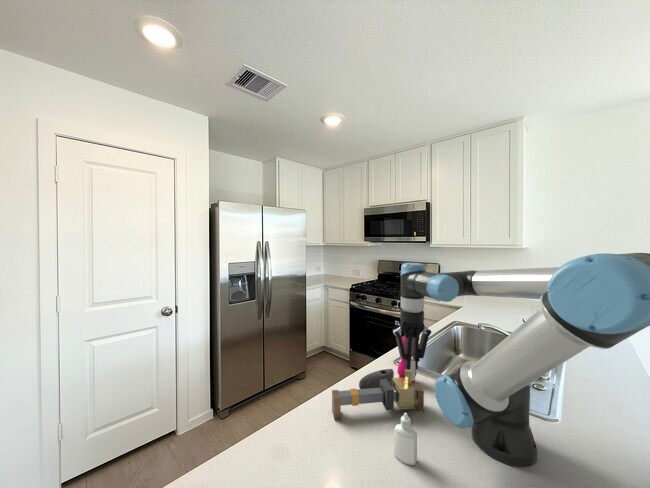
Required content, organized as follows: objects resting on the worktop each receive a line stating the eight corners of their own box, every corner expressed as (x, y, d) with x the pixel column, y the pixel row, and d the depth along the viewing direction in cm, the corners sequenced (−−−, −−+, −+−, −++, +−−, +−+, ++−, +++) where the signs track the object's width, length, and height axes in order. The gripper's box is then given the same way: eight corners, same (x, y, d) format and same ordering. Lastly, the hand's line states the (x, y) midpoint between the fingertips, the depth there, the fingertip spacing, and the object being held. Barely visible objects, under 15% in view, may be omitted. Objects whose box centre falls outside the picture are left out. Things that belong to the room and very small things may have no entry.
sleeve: (405, 396, 92) (405, 366, 92) (414, 408, 86) (414, 376, 86) (391, 397, 92) (391, 367, 92) (399, 409, 85) (399, 377, 85)
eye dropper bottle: (407, 470, 66) (407, 423, 65) (391, 454, 71) (391, 409, 70) (419, 463, 68) (420, 417, 67) (403, 447, 73) (403, 405, 72)
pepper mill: (417, 388, 101) (417, 336, 100) (397, 386, 102) (398, 335, 101) (415, 378, 108) (415, 330, 107) (396, 377, 109) (396, 329, 109)
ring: (386, 397, 92) (386, 378, 91) (393, 410, 85) (393, 389, 85) (379, 398, 91) (379, 379, 91) (386, 410, 85) (386, 390, 85)
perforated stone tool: (361, 397, 96) (361, 378, 96) (356, 388, 101) (356, 371, 101) (398, 390, 100) (398, 372, 99) (391, 383, 105) (391, 366, 104)
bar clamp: (417, 403, 92) (417, 382, 92) (423, 411, 88) (423, 390, 87) (332, 410, 88) (332, 389, 88) (334, 420, 84) (334, 397, 83)
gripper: (425, 305, 93) (424, 371, 94) (389, 306, 91) (388, 373, 92) (436, 311, 86) (435, 383, 86) (397, 313, 84) (397, 385, 85)
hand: (411, 378), depth 89 cm, fingers closed
